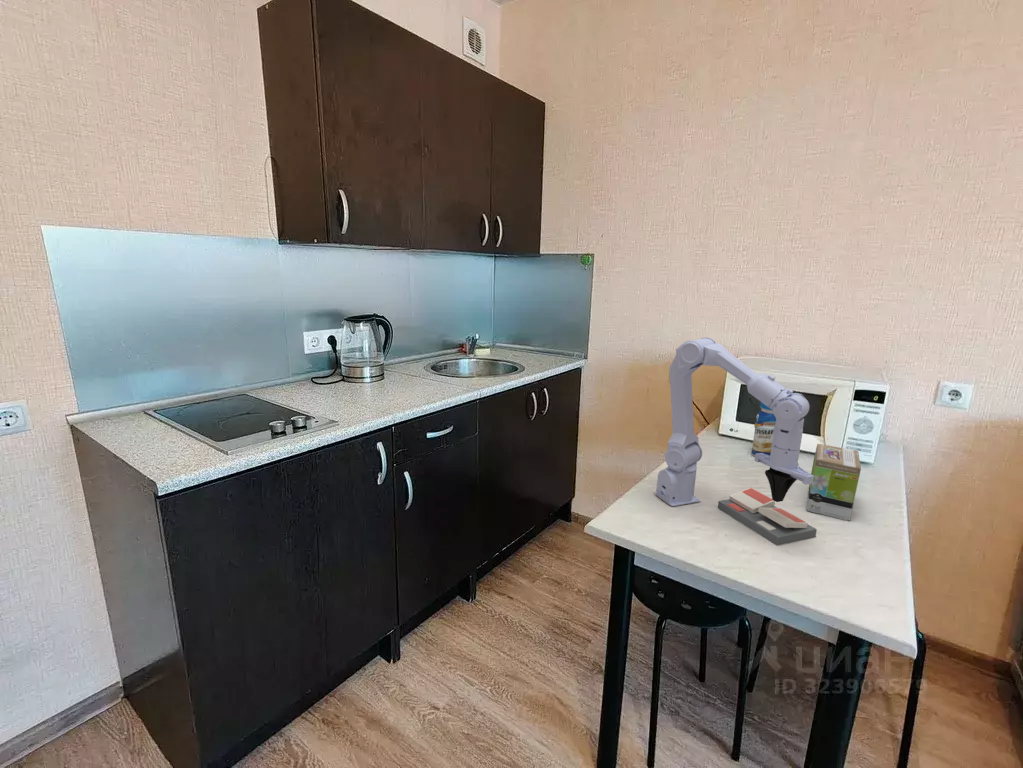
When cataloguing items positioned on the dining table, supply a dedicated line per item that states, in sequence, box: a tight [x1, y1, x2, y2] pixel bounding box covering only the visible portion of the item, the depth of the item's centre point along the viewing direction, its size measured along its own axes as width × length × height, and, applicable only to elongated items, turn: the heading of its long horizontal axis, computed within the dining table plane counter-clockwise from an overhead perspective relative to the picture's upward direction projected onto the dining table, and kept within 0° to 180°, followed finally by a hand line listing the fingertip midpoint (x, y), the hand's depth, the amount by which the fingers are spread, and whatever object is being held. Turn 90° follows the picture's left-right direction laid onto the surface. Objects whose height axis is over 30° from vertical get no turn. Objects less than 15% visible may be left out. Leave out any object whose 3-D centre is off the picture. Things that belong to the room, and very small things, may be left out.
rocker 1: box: [728, 487, 776, 514], centre depth 129 cm, size 7×8×1 cm
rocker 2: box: [758, 507, 809, 528], centre depth 120 cm, size 7×8×1 cm
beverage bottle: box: [750, 401, 776, 457], centre depth 166 cm, size 8×8×20 cm
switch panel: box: [717, 498, 818, 546], centre depth 125 cm, size 12×19×3 cm, turn 20°
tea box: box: [806, 443, 862, 522], centre depth 133 cm, size 15×10×15 cm
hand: (777, 500), depth 118 cm, fingers closed
